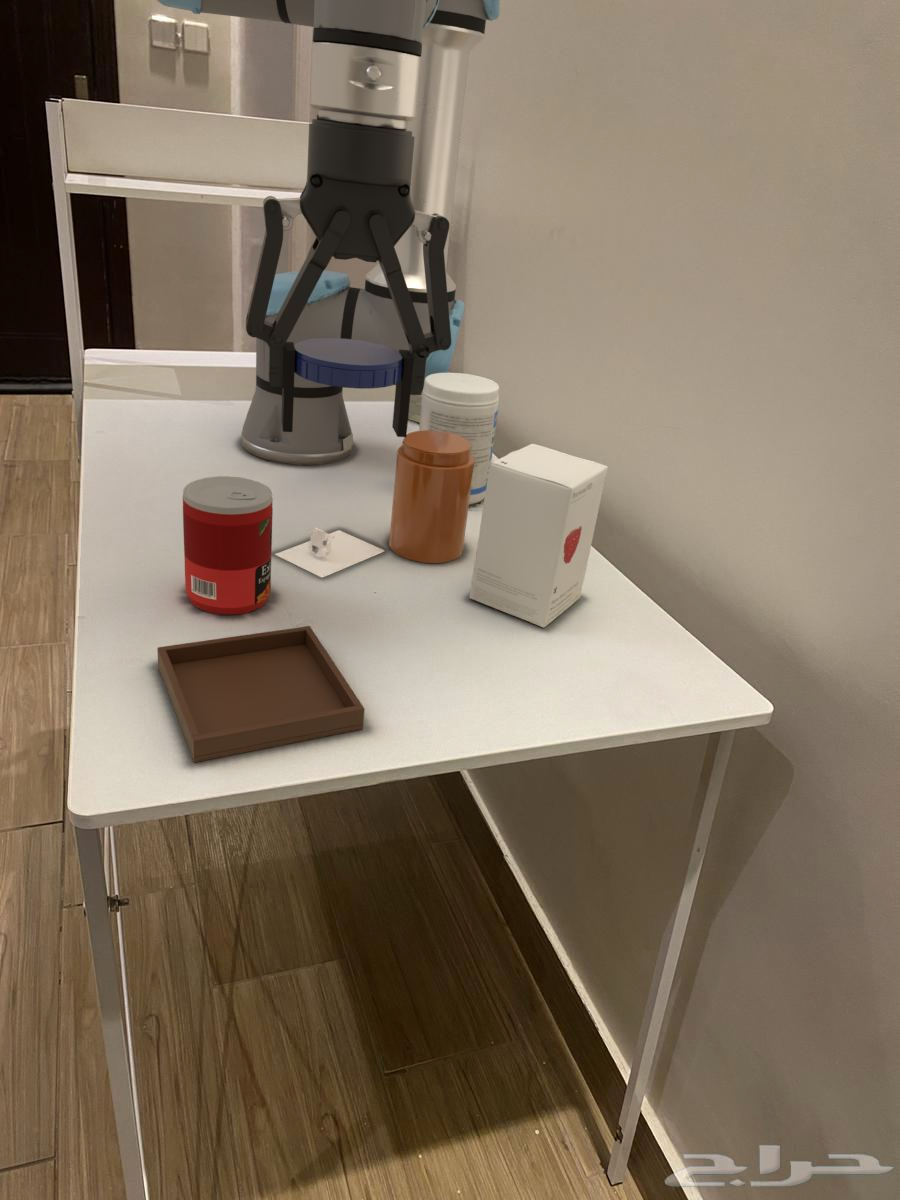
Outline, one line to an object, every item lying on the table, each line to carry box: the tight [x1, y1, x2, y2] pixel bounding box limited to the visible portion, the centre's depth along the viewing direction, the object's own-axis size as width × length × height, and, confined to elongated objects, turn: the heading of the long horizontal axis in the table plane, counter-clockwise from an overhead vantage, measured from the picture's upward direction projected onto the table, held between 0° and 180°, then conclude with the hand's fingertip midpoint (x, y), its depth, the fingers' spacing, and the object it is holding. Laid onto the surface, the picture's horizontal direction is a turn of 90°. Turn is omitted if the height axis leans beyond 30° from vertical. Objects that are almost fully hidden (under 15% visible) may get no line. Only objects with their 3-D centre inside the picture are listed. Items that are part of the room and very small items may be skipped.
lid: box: [294, 338, 403, 390], centre depth 72 cm, size 9×9×2 cm
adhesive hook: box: [306, 526, 335, 559], centre depth 97 cm, size 3×3×3 cm
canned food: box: [182, 475, 274, 616], centre depth 85 cm, size 8×8×11 cm
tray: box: [156, 625, 365, 763], centre depth 73 cm, size 13×13×2 cm
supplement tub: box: [418, 372, 500, 505], centre depth 115 cm, size 10×10×15 cm
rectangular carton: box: [469, 443, 609, 628], centre depth 91 cm, size 9×9×15 cm
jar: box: [388, 430, 475, 564], centre depth 100 cm, size 8×8×12 cm
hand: (343, 429), depth 75 cm, fingers closed on lid, 9 cm apart
